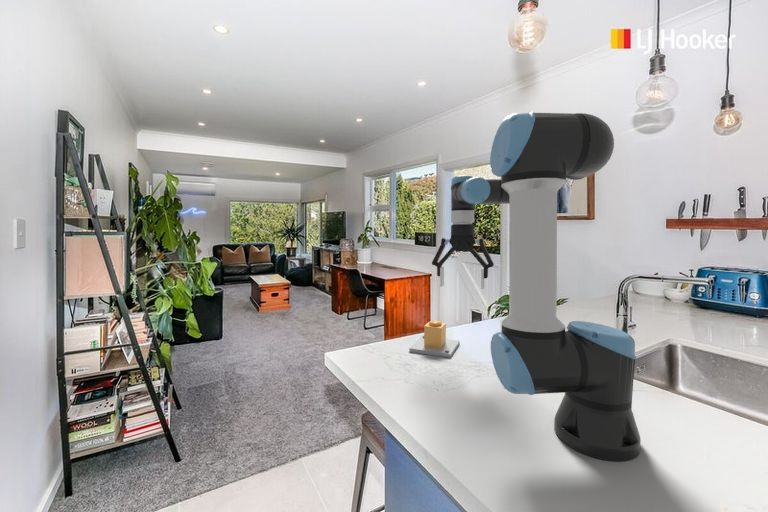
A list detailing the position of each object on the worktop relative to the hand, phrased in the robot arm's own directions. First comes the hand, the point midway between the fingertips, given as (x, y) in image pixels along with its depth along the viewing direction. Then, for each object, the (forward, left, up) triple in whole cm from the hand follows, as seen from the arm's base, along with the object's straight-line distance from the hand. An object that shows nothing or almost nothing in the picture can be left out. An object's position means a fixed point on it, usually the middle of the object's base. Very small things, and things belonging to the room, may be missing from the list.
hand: (461, 287), depth 121 cm
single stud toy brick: (-2, +9, -20) cm, 22 cm away
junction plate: (-2, +9, -22) cm, 23 cm away
